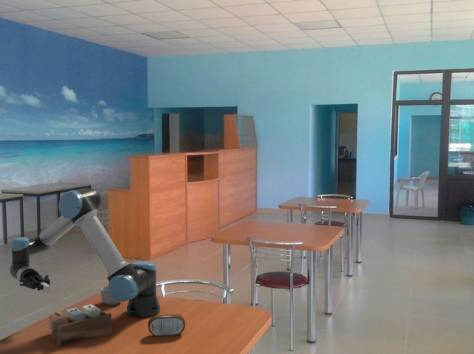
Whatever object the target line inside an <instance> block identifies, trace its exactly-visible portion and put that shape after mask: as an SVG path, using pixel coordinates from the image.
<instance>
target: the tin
mask: <svg viewBox="0 0 474 354" xmlns="http://www.w3.org/2000/svg"><path fill="white" fill-rule="evenodd" d="M147 328H148V331H149V333H150V334H151V335H152V336H154V337H170V336H173V337H174V335H175V336H179V335H181V334H182V333H183V332H184V331H185V329H186V319H185V318H184V317H183V316H182V315H181V314H179V313H178V314H177V313H174V314H171V313H170V314H156V315H154V316H151V318H149V320H148V323H147Z"/></svg>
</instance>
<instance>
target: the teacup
mask: <svg viewBox="0 0 474 354" xmlns="http://www.w3.org/2000/svg"><path fill="white" fill-rule="evenodd" d="M108 287H109V284H107V285H103V286H102V287H100V289H99V291H100V295H101V297H100V298H101V301H102V302H103V304H105V305H107V306H116V305H119V304H120V303H121V302H122V301H118V300H116V299H115V298H113V297H112V295H111V294H110V292H109V289H108Z"/></svg>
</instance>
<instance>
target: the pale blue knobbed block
mask: <svg viewBox="0 0 474 354" xmlns="http://www.w3.org/2000/svg"><path fill="white" fill-rule="evenodd" d="M65 315H66V316H67V317H68V318H71V319H73V320H74V321H76V322H77V321H81V320H84V312H82V309H79V308H77V307H73V308H68V309H65Z"/></svg>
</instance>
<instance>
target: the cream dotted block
mask: <svg viewBox="0 0 474 354" xmlns="http://www.w3.org/2000/svg"><path fill="white" fill-rule="evenodd" d="M100 310H101V308H100V307H97V306H95V305H94V304H92V303H91V304H87V305H81V311H82V312H84V314H88V315H89V316H91V317H92V318H93V317H97V316H100Z"/></svg>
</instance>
